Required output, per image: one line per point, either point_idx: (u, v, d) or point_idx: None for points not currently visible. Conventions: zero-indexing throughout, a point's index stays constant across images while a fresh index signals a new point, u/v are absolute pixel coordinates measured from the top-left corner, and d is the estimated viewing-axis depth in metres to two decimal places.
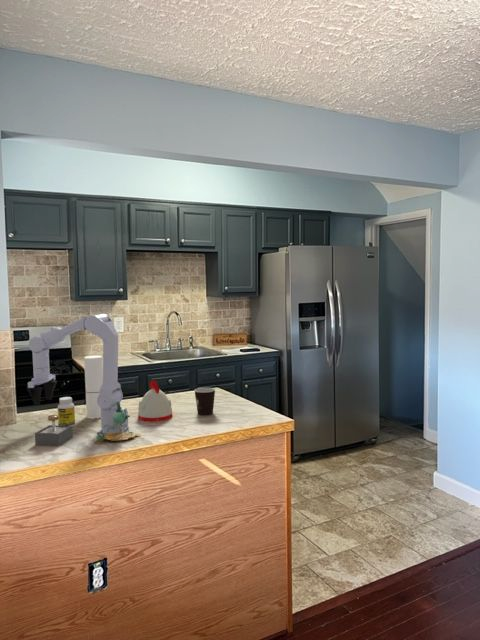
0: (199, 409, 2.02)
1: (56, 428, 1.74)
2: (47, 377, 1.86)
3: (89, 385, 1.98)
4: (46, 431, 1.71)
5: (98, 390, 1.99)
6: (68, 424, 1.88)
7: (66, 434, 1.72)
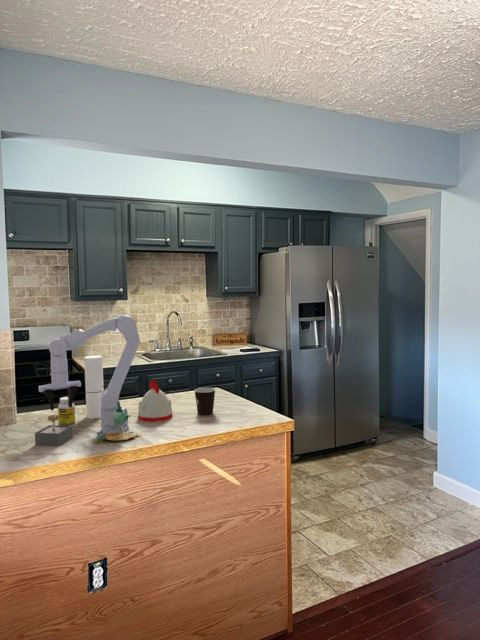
0: (199, 409, 2.02)
1: (56, 428, 1.74)
2: (60, 383, 1.75)
3: (89, 385, 1.98)
4: (46, 431, 1.71)
5: (98, 390, 1.99)
6: (68, 424, 1.88)
7: (66, 434, 1.72)
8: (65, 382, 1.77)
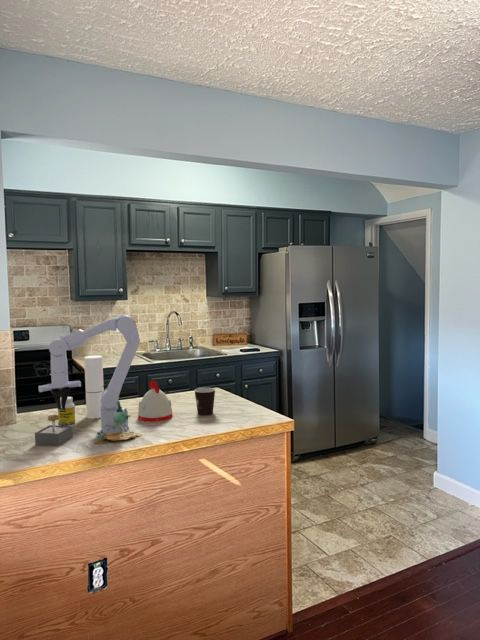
0: (199, 409, 2.02)
1: (56, 428, 1.74)
2: (60, 383, 1.75)
3: (89, 385, 1.98)
4: (46, 431, 1.71)
5: (98, 390, 1.99)
6: (68, 424, 1.88)
7: (66, 434, 1.72)
8: (65, 382, 1.77)
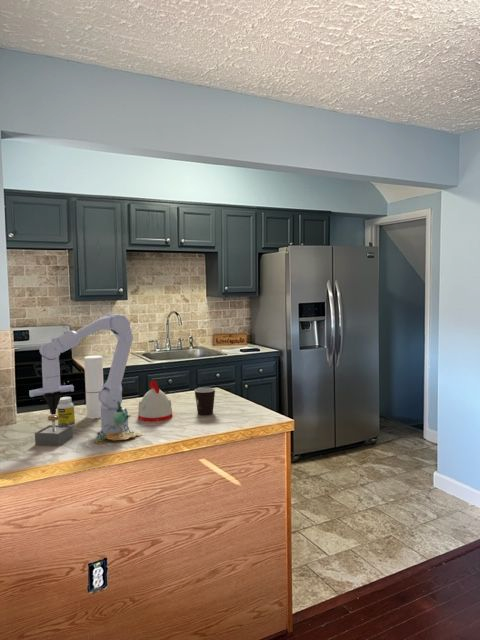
0: (199, 409, 2.02)
1: (56, 428, 1.74)
2: (52, 387, 1.68)
3: (89, 385, 1.98)
4: (46, 431, 1.71)
5: (98, 390, 1.99)
6: (68, 424, 1.87)
7: (66, 434, 1.72)
8: (57, 386, 1.70)
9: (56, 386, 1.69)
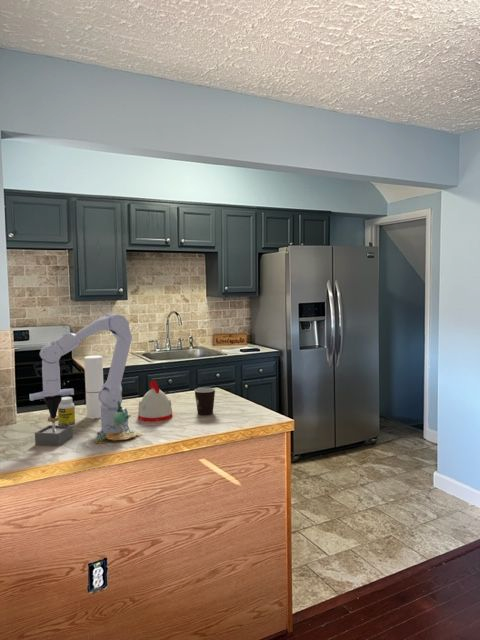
0: (199, 409, 2.02)
1: (56, 429, 1.74)
2: (52, 391, 1.68)
3: (89, 385, 1.98)
4: (46, 432, 1.71)
5: (98, 390, 1.99)
6: (68, 424, 1.87)
7: (66, 434, 1.72)
8: (57, 390, 1.70)
9: (56, 390, 1.69)
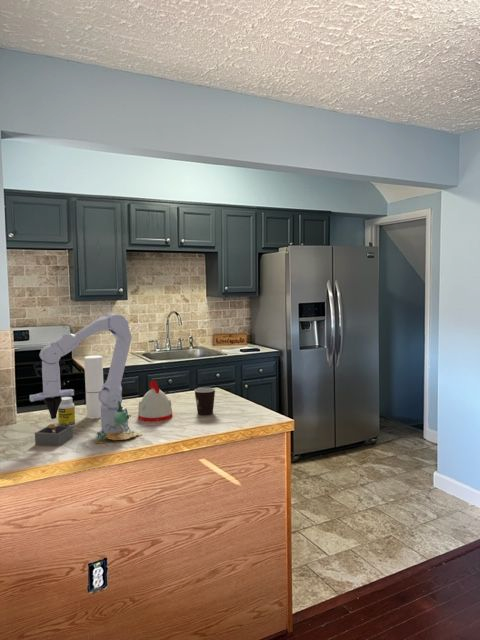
0: (199, 409, 2.02)
1: None
2: (52, 392, 1.68)
3: (89, 385, 1.98)
4: None
5: (98, 390, 1.99)
6: (68, 424, 1.87)
7: (66, 434, 1.72)
8: (57, 391, 1.70)
9: (56, 390, 1.69)
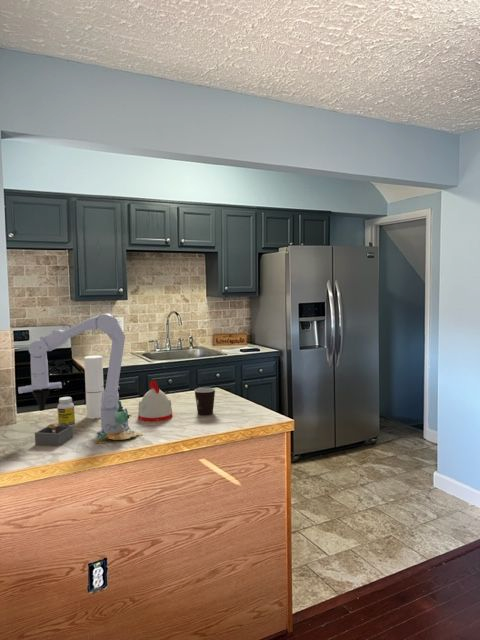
0: (199, 409, 2.02)
1: None
2: (40, 384, 1.74)
3: (89, 385, 1.98)
4: None
5: (98, 390, 1.99)
6: (67, 424, 1.87)
7: (66, 434, 1.72)
8: (45, 383, 1.75)
9: (44, 383, 1.74)
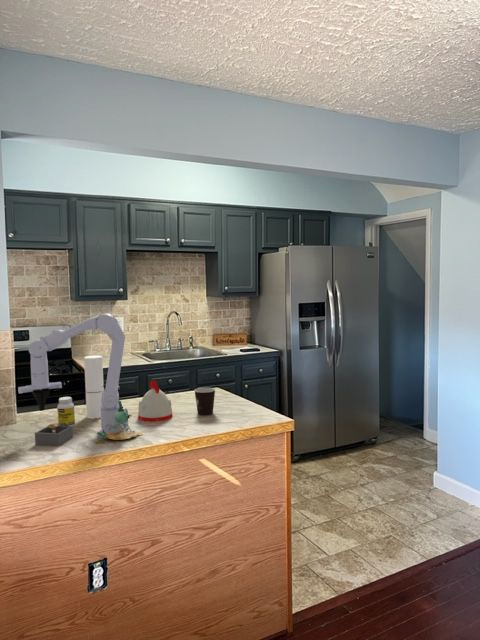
0: (199, 409, 2.02)
1: None
2: (40, 384, 1.74)
3: (89, 385, 1.98)
4: None
5: (98, 390, 1.99)
6: (67, 424, 1.87)
7: (66, 434, 1.72)
8: (45, 383, 1.75)
9: (44, 383, 1.74)
